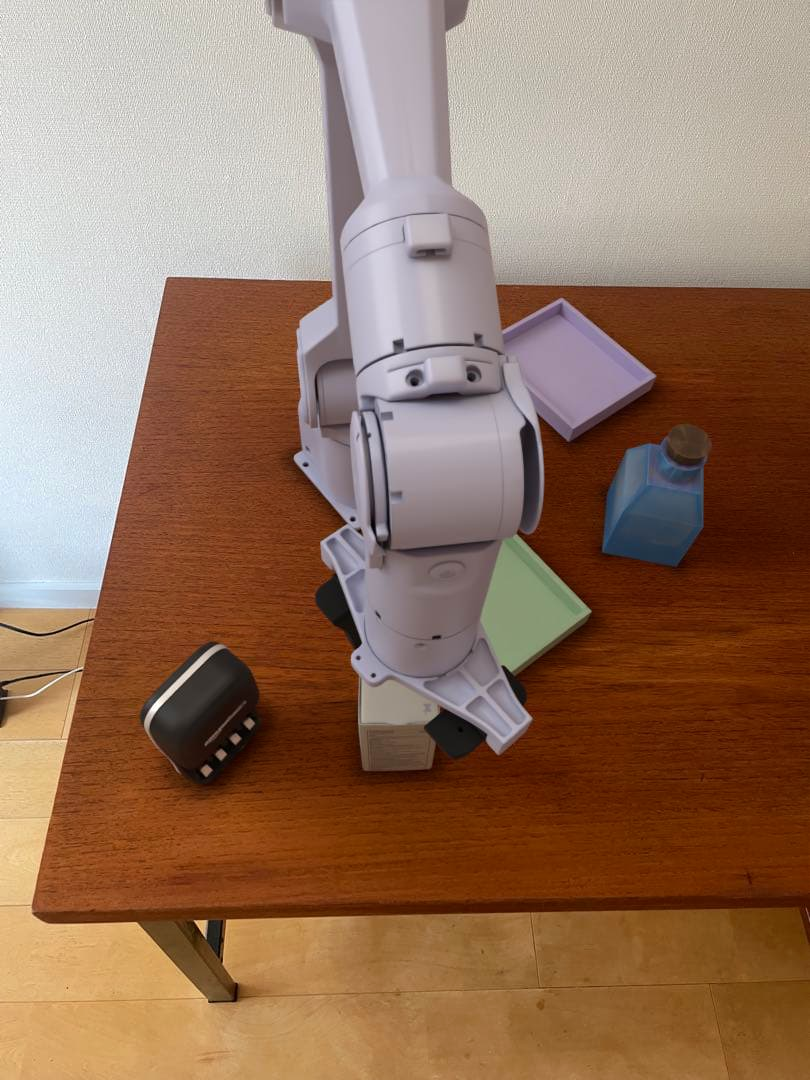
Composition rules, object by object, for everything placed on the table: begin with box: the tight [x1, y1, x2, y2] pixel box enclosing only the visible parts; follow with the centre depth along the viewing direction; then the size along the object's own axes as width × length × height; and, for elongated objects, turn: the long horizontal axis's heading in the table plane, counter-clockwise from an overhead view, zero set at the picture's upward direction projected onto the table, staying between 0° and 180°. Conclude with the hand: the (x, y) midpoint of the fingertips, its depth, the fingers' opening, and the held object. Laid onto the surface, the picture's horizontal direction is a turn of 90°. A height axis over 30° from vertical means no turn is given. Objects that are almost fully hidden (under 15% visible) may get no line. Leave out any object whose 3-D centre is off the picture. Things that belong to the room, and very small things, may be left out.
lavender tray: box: [502, 297, 657, 443], centre depth 77 cm, size 13×11×2 cm
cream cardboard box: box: [357, 675, 441, 772], centre depth 54 cm, size 5×4×10 cm
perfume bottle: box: [601, 423, 712, 568], centre depth 63 cm, size 6×6×12 cm
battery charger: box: [139, 640, 262, 786], centre depth 52 cm, size 7×4×11 cm, turn 142°
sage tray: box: [480, 533, 592, 677], centre depth 64 cm, size 15×12×2 cm
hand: (411, 690), depth 49 cm, fingers open, 7 cm apart
